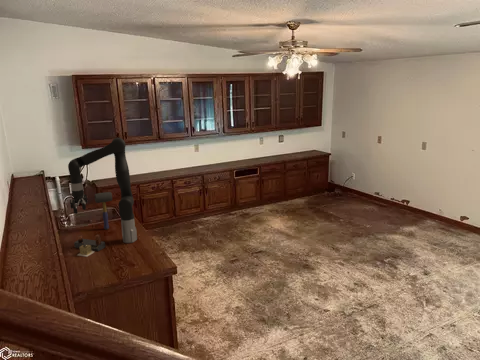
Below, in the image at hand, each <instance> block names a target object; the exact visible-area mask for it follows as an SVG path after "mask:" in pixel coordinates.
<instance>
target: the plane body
mask: <svg viewBox="0 0 480 360" xmlns="http://www.w3.org/2000/svg"><path fill="white" fill-rule="evenodd" d="M94 239H95V240H94ZM94 239H88V238H83V235H77V240H76V241H74V242H73V244H74V249H75V248H76V249H80V246H82V245H84V244H87V245H91V250H92V251H95V252H100V251H101V250H103V249H105V248H106V242H105V241H103V240H101V239H102V238H101V234H96V235H95V236H94Z"/></svg>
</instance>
